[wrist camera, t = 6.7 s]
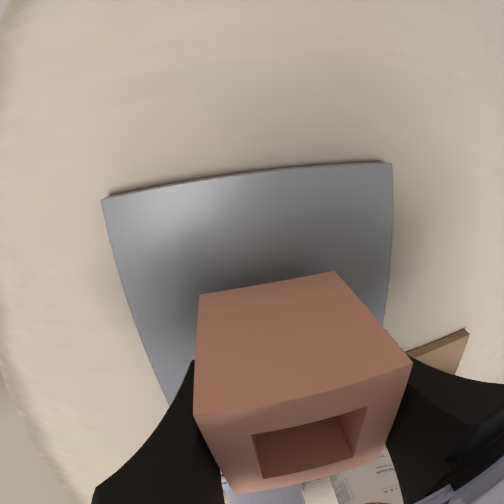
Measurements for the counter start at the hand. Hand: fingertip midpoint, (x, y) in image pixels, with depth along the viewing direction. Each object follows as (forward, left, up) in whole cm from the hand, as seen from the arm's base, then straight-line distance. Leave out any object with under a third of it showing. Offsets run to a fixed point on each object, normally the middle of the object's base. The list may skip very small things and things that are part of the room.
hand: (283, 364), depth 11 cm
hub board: (0, 0, -4) cm, 4 cm away
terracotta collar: (0, 0, -2) cm, 2 cm away
